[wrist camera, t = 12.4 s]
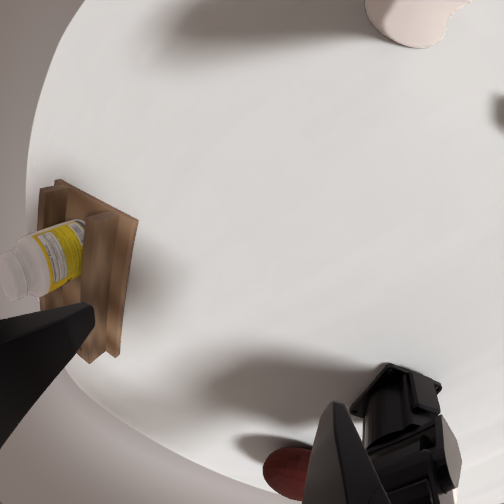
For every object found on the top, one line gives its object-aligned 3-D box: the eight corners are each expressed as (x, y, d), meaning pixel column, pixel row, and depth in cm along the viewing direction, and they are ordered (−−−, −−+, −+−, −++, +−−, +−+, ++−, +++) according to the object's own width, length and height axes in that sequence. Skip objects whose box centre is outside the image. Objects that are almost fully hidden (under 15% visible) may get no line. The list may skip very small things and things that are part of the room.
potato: (288, 426, 26) (273, 472, 20) (364, 455, 24) (360, 499, 19) (258, 452, 29) (242, 491, 23) (327, 478, 27) (319, 516, 22)
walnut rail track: (119, 354, 30) (99, 372, 26) (55, 303, 32) (35, 315, 28) (138, 220, 23) (108, 230, 20) (60, 179, 25) (32, 184, 22)
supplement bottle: (70, 264, 27) (0, 299, 18) (65, 215, 25) (-13, 240, 16) (103, 275, 26) (26, 319, 17) (99, 221, 24) (11, 252, 15)
